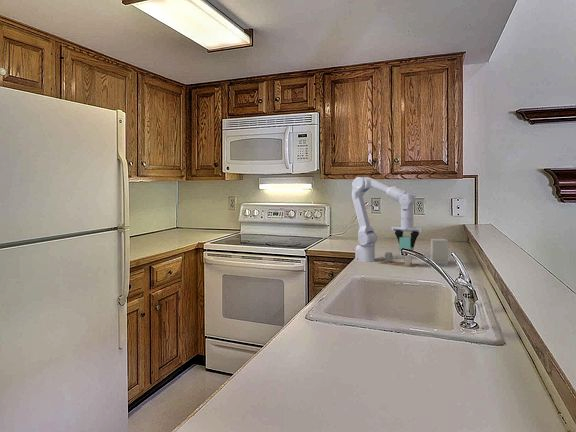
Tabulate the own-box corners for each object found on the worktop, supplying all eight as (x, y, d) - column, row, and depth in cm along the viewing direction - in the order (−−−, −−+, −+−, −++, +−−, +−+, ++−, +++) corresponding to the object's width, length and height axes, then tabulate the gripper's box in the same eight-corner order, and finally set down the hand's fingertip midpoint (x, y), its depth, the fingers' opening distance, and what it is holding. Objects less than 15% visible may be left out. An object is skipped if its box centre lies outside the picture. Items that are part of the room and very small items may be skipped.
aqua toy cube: (399, 251, 188) (399, 237, 187) (403, 249, 192) (403, 236, 191) (410, 252, 185) (410, 238, 184) (413, 250, 189) (413, 237, 188)
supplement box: (448, 266, 191) (448, 240, 190) (432, 266, 193) (432, 240, 192) (445, 263, 199) (446, 238, 198) (430, 262, 200) (430, 238, 199)
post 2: (404, 265, 191) (405, 254, 191) (406, 264, 193) (406, 254, 193) (410, 265, 190) (410, 255, 189) (412, 264, 192) (412, 254, 191)
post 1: (385, 262, 197) (385, 252, 197) (387, 261, 199) (387, 252, 199) (390, 263, 195) (390, 253, 195) (392, 262, 198) (392, 252, 197)
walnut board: (377, 265, 196) (377, 263, 196) (384, 262, 203) (384, 260, 203) (413, 269, 186) (413, 267, 186) (419, 266, 193) (419, 264, 193)
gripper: (389, 218, 188) (388, 246, 189) (419, 219, 180) (419, 249, 181) (394, 217, 194) (394, 244, 195) (424, 218, 185) (423, 247, 186)
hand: (406, 246), depth 188 cm, fingers closed on aqua toy cube, 5 cm apart
